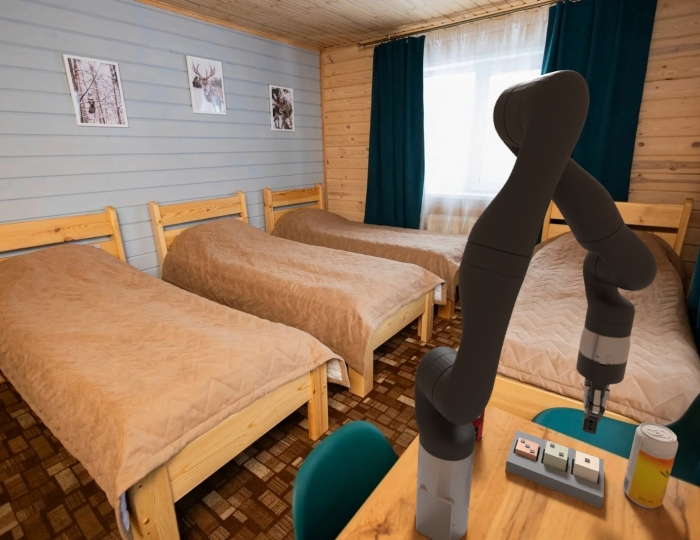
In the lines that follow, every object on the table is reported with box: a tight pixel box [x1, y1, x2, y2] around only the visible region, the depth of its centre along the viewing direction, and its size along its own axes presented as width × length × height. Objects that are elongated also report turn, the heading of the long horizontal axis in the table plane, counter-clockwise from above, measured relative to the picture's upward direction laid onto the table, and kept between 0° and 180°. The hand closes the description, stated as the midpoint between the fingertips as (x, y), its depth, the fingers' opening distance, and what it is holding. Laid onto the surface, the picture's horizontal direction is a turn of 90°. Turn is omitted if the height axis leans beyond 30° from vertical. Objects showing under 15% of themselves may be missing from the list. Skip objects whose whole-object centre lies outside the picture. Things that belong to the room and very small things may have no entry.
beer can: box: [622, 421, 679, 509], centre depth 71 cm, size 6×6×15 cm
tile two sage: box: [542, 440, 569, 472], centre depth 79 cm, size 4×4×3 cm
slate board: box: [505, 429, 605, 509], centre depth 79 cm, size 11×17×2 cm, turn 57°
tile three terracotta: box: [515, 437, 539, 461], centre depth 82 cm, size 4×4×3 cm
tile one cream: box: [572, 450, 600, 483], centre depth 76 cm, size 4×4×3 cm
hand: (588, 430), depth 75 cm, fingers closed
